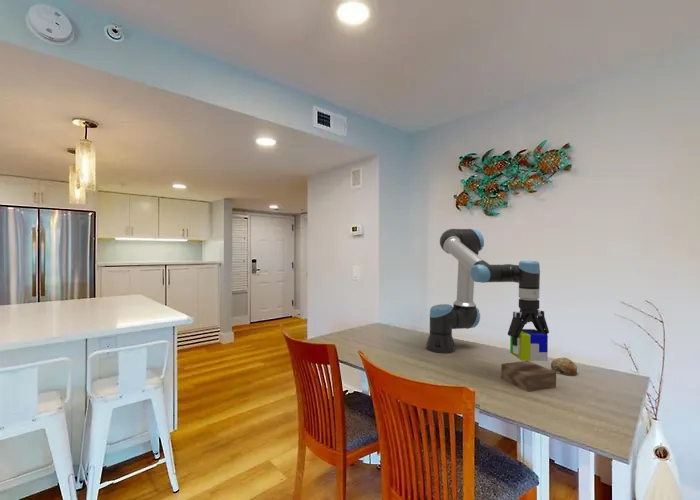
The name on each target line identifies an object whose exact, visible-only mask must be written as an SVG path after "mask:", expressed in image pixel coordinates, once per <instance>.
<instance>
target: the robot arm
mask: <svg viewBox="0 0 700 500" xmlns="http://www.w3.org/2000/svg"><path fill="white" fill-rule="evenodd" d="M484 244H485V239H484V236H483V234H482V233H481V231H480V230H478V229H474V228H472V229H471V228H449V229H447V230H445V231H444V232H443V233H441V236H440V238H439V245H440V248H441V249H442V250H443V251H444V252H445V253H446V254H448V255H452V257H454V258H455V259H456V260H457V262H458V263H457V280H456V281H457V283H456V284H457V285H456V286H457V287H456V300H455V301H454V302H453V303H452V304H453V306H452V304H448V303H446V304H445V303H444V304H443V303H442V304H441V303H440V304H435V305H432V306H431V307H430V309H429V315H428V316H429V335H428V337H427V340H426V343H425V348H426V349H427V350H428V351H430V352H434V353H441V354H447V353H453V352H455V351H456V344H455V340H454V338H453V330H462V329H463V330H464V329H467V330H469V329H474V328H476V327H477V326H478V325H479V324H480V321H481V313H480V309H479V307H477V304H476V303H475V301H474V294H475V293H474V292H475V291H474V289H475V283H485V284H486V283H509V282H510V283H518V298H519V299H518V308H519V311H513V312H512V319H511V321H510V322H511V323H510V325H509V328H508V332H507V335H508V336H509V337H510V336H511V337H512V345H513V353H515V354H518V355H520V338H518V336H519V335H520V333H521V331H522V329H524V327H525V326H526V325H527V324H528V323H532V324H533V326H534V329H535V330H537V331H539V332H542V333H544V334H546V335H548V334H549V333H550V330H549V327H548V324H547V321H546V317H545V311H543V310H540V300H539V299H540V288H541V287H540V285H541V281H540V280H541V279H540V278H541V277H540V276H541V267H540V263H539V261H537V260H520V261H519V263H518V264H512V263H506V264H505V263H504V264H489V262H487V261H486V260H484V259H483V258H482V257H480V255H479V252H480V251H482V250H483V248H484ZM515 334H516V335H515Z"/></svg>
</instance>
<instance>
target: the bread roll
mask: <svg viewBox="0 0 700 500" xmlns="http://www.w3.org/2000/svg"><path fill="white" fill-rule="evenodd" d="M550 368H551V370H552V371H555V372H556V374H560V375H564V376H569V377H570V376H571V377H572V376H576V375H577V372H578V366H577V364H576V363H575V362H574V361H572V360H571V359H570V358H568V357H558V358H554V359H553V360H552V361H551V363H550Z"/></svg>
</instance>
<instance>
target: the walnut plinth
mask: <svg viewBox="0 0 700 500" xmlns="http://www.w3.org/2000/svg"><path fill="white" fill-rule="evenodd" d="M500 366H501V367H500V368H501V369H500V372H501V373H500V376H501V377H500V378H501V379H502V380H504V381H506V382H508V383H510V384H512V385H514V386H516V387H518V388H520V389H521V390H524V391H526V392H535V391H540V390H548V389H554V388H556V387H557V373H556V372H555V371H553V370H552V369H549V368H547V367H545V366H542V365H540V364H537V363H534V362H533V361H532V362H531V361H522V360H520V361H514V362H505V363H501V364H500Z"/></svg>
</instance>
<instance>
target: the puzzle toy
mask: <svg viewBox="0 0 700 500" xmlns="http://www.w3.org/2000/svg"><path fill="white" fill-rule="evenodd" d="M515 335H516V334H515ZM509 337H510V347H509V348H510V352H509V353H510V354H511V355H513V356H515V357H516V358H517V359H519V360H520V361H530V362H531V361H532V362H533V361H534V362H535V361H537V362H538V361H539V362H543V361H544V362H548V361H549V360H548V359H549V358H548V353H549V352H548V349H549V348H548V345H549V343H548V339H549V338H548V337H549V336H548V334H547V335H546V334H544V333H542V332H539V331H537V330H536V328H532V329H531V328H523V329H522V331H521V333H520V335H519V336H518V338H520V355H518V354H515V353H513V345H512V337H511V336H509Z"/></svg>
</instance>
